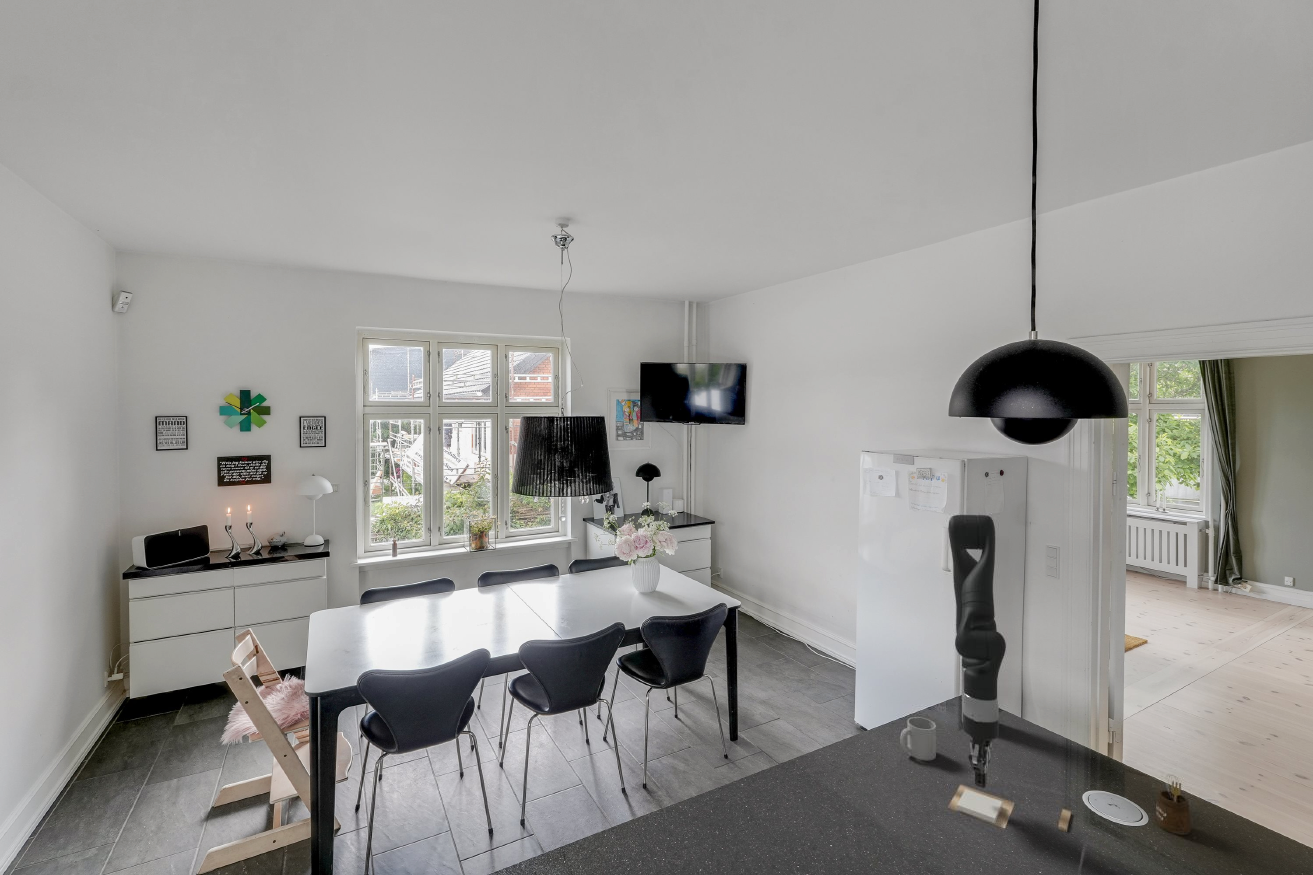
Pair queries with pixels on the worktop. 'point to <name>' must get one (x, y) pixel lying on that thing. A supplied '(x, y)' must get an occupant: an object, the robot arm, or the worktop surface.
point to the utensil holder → (1173, 811)
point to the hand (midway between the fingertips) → (980, 785)
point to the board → (1006, 805)
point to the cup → (919, 738)
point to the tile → (979, 806)
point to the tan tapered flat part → (1064, 820)
